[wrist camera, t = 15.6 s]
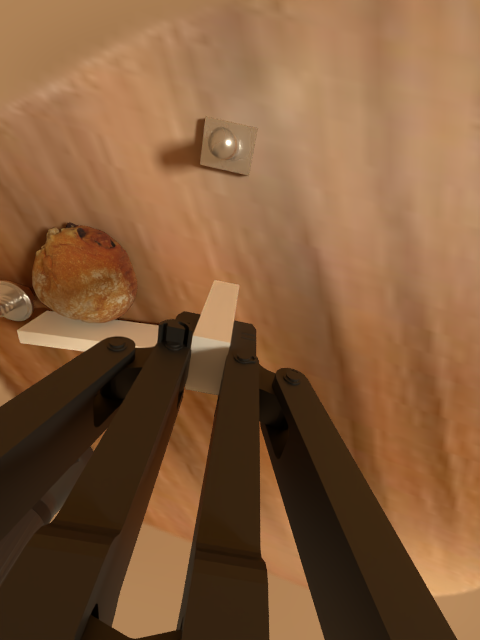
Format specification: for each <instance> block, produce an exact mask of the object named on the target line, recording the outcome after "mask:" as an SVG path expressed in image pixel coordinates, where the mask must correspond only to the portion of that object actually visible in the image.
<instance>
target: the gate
mask: <svg viewBox="0 0 480 640" xmlns="http://www.w3.org/2000/svg"><path fill="white" fill-rule="evenodd" d="M158 328H159V325H151V324H144V323H136V322H129V321H121V320H112V321H109V322H106V323H87V322H83V321H81V320H74V319H70V318H67V317H64V316H62V315H60V314H58V313H56V312H53V311H46V312H44V313H43V314H41V315H39V316H38V317H36V318H35V319H33V320H32V321H30V322H29V323H27V324H26V325H24V326H23V327H21V328H20V329H18V330H17V333H18V336H19V339H20V343H25V344H32V345H40V346H47V347H55V348H62V349H70V350H77V351H86V350H88V349H89V348H91V347H92V346H94V345H96V344H97V343H99V342H100V341H102V340H104V339H106V338H108V337H114V336H122V337H127V338H129V339H131V340H133V341H134V342H135V348H146V347H153V346H155V345H156V344H157V340H158Z"/></svg>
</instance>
